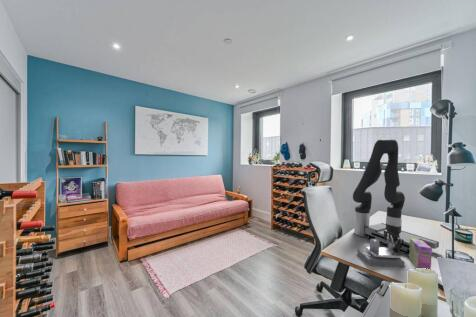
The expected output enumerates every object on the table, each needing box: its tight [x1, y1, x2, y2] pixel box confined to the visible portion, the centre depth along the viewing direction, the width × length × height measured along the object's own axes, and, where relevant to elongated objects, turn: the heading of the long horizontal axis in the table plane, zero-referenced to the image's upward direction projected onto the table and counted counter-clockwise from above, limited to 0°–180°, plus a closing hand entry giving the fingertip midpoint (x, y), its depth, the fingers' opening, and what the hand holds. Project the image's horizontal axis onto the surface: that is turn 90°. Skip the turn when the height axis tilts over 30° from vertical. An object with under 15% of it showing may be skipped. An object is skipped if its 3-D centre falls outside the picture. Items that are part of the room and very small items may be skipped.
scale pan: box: [365, 246, 401, 259], centre depth 112 cm, size 9×13×1 cm
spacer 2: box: [388, 241, 396, 250], centre depth 121 cm, size 4×4×6 cm
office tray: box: [365, 222, 440, 256], centre depth 132 cm, size 21×32×8 cm, turn 26°
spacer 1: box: [369, 239, 380, 253], centre depth 112 cm, size 4×4×6 cm
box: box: [408, 238, 433, 270], centre depth 109 cm, size 10×6×12 cm, turn 158°
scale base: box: [357, 248, 406, 268], centre depth 112 cm, size 12×18×4 cm, turn 87°
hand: (392, 250), depth 121 cm, fingers closed on spacer 2, 4 cm apart
